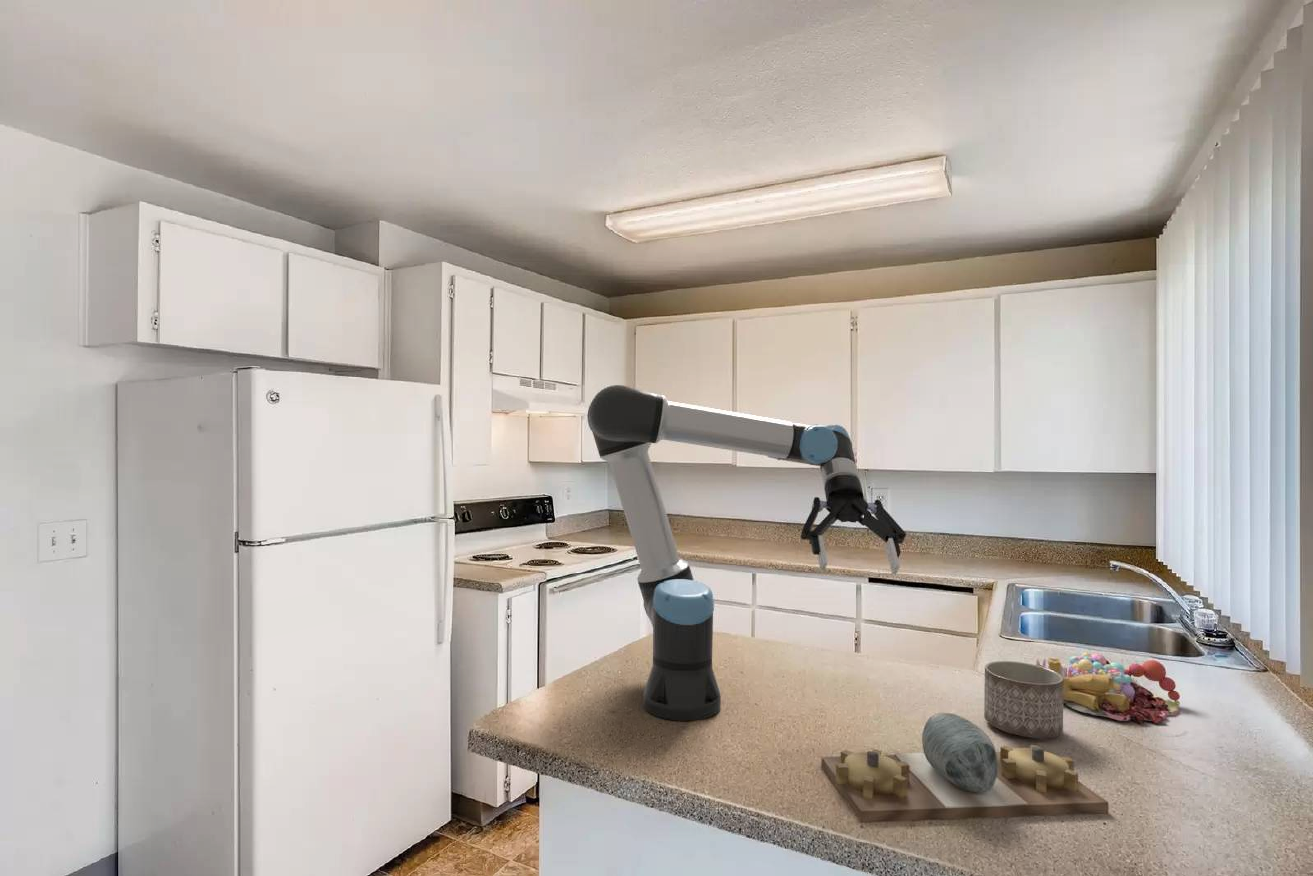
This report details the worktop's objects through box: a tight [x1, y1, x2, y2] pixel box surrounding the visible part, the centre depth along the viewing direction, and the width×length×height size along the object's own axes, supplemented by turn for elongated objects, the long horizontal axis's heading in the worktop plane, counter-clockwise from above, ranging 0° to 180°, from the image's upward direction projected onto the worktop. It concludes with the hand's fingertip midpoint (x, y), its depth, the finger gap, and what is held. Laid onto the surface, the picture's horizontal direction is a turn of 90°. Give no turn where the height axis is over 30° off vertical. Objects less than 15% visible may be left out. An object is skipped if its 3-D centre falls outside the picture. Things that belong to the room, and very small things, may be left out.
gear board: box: [820, 744, 1109, 823], centre depth 101 cm, size 37×16×6 cm, turn 95°
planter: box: [983, 660, 1064, 739], centre depth 124 cm, size 13×13×10 cm
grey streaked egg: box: [921, 712, 997, 793], centre depth 102 cm, size 14×10×10 cm
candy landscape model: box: [1035, 651, 1181, 725], centre depth 139 cm, size 25×24×9 cm
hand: (860, 569), depth 128 cm, fingers open, 13 cm apart
